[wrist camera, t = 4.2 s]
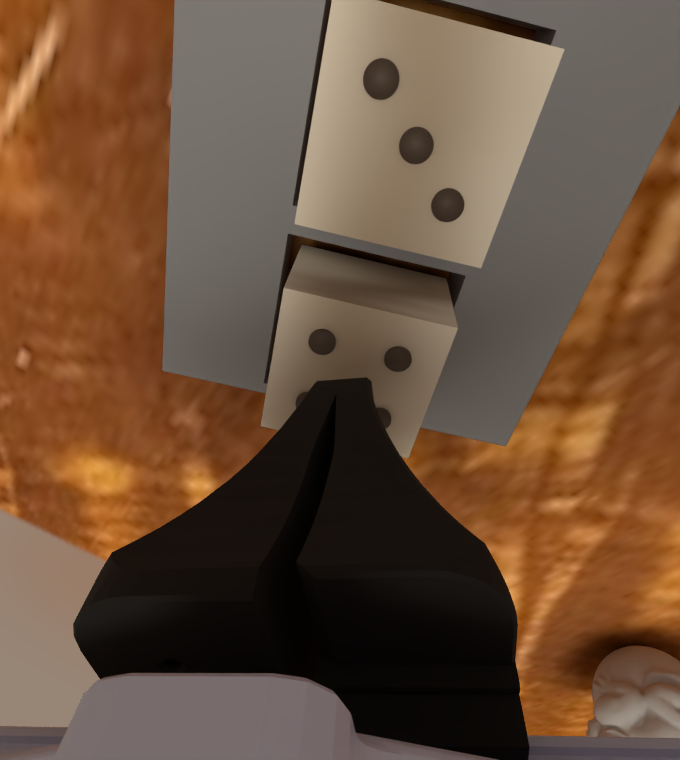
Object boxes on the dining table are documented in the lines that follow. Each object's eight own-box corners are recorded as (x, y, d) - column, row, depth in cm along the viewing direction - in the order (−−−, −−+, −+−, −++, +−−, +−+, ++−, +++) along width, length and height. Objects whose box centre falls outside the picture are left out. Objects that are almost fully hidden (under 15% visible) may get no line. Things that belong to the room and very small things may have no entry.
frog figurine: (533, 648, 28) (571, 809, 22) (665, 601, 25) (747, 771, 19) (590, 698, 30) (638, 856, 25) (717, 660, 28) (806, 829, 22)
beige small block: (527, 46, 13) (566, 49, 10) (464, 226, 15) (481, 269, 12) (346, -2, 12) (333, -12, 10) (311, 189, 15) (293, 225, 12)
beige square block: (446, 278, 16) (458, 330, 13) (405, 396, 18) (408, 460, 15) (301, 244, 16) (282, 290, 13) (279, 367, 18) (259, 428, 15)
